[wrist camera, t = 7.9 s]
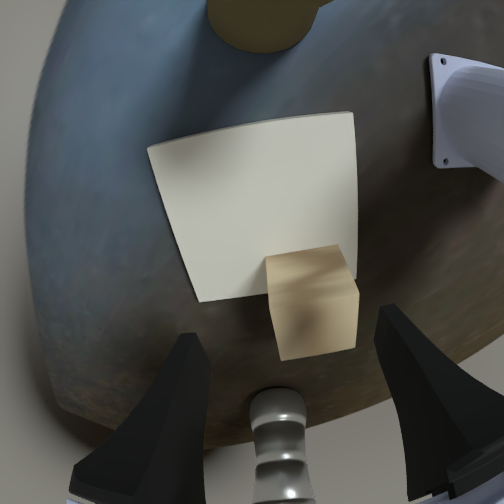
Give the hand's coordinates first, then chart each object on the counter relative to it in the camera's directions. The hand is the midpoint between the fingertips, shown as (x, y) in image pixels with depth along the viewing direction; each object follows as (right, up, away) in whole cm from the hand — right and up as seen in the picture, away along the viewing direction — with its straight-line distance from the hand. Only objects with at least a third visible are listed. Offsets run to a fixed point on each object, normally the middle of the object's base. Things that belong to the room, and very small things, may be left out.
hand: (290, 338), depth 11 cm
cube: (+2, +1, +10) cm, 10 cm away
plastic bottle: (+1, -13, +21) cm, 25 cm away
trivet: (-1, +6, +8) cm, 10 cm away
